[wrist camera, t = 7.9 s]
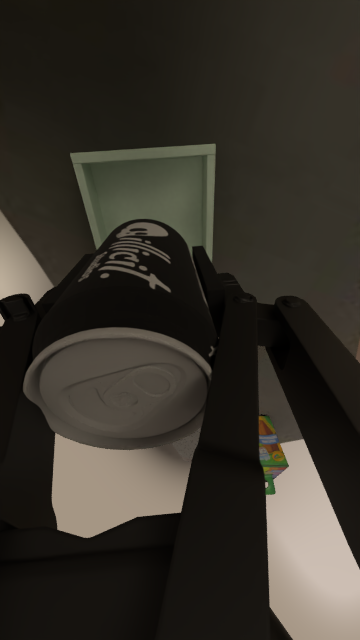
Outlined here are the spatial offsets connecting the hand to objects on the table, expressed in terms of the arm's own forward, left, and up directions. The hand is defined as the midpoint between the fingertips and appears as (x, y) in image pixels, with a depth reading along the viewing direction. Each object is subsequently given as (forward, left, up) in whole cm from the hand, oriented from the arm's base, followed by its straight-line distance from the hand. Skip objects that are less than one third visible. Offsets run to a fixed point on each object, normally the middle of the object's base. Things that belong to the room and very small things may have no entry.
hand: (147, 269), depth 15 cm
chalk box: (+50, +18, -15) cm, 56 cm away
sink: (0, 0, -15) cm, 15 cm away
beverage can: (0, 0, -1) cm, 1 cm away
